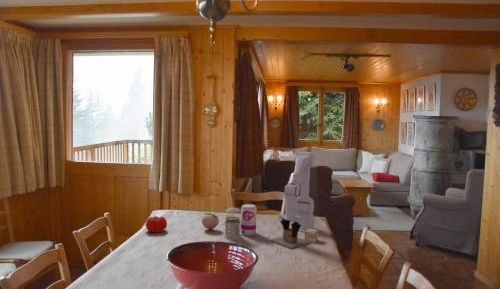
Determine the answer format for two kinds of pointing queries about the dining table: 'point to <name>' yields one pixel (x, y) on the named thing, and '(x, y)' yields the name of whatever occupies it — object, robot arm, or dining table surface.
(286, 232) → the walnut cube
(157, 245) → the dining table surface
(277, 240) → the slate trivet
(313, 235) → the maple cube
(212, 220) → the decorative fruit
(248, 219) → the supplement can
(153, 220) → the tomato
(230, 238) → the french press
